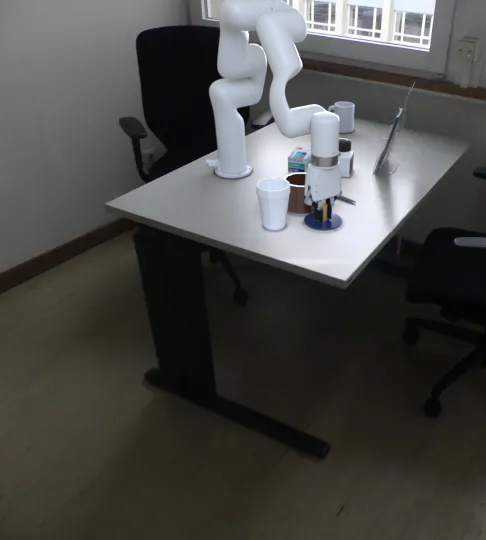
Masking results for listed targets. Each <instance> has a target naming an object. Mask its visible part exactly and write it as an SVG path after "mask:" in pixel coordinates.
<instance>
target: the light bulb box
mask: <svg viewBox="0 0 486 540" xmlns="http://www.w3.org/2000/svg"><path fill="white" fill-rule="evenodd" d="M310 163H311V147H303V146H296V147H295V148H294V149H292V151H291V153H290V154H289V155H288V156H287V175H289V174H293V173H306V172H307V167H308V164H310Z"/></svg>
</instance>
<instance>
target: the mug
mask: <svg viewBox="0 0 486 540" xmlns="http://www.w3.org/2000/svg"><path fill="white" fill-rule="evenodd" d="M332 110H333V113H335V114H336V115H338V117H339V120H340V125H339V134H348V133H349V134H350V133H352V132H353V131H354V128H355V127H354V126H355V125H354V124H355V104H354V103H353V102H352V101H351V102H350V101H337V102H335V103H334V105H330V106H328V108H327V111H328V112H331V111H332Z"/></svg>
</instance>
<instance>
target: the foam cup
mask: <svg viewBox="0 0 486 540" xmlns="http://www.w3.org/2000/svg"><path fill="white" fill-rule="evenodd" d="M255 192H256V195H257V199H258V200H257V201H258V205H259V209H260V210H259V211H260V215H261V221H262V225H263V227H264V228H266V229H267V230H281V229H282V228H284V227H285V226H286V224H287V217H288V211H287V210H288V202H289V194H290V183H289V181H287V180H285V179H284V178H282V177H266V178H262V179H259V180H257V182H256V183H255Z"/></svg>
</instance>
